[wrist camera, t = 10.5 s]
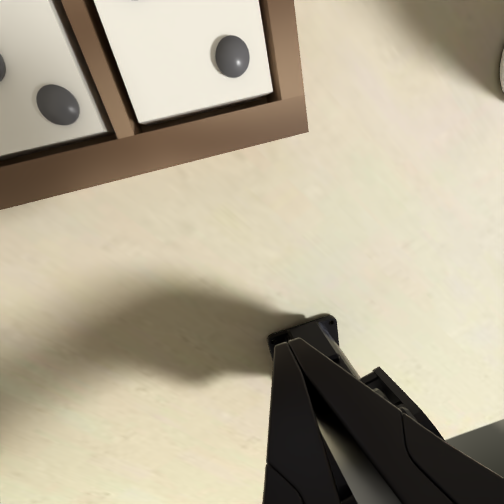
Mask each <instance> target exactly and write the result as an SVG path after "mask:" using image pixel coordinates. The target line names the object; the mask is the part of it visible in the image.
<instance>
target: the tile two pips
mask: <svg viewBox="0 0 504 504" xmlns="http://www.w3.org/2000/svg"><path fill="white" fill-rule="evenodd" d="M94 3H95V5H96V8H97V11H98V13H99V16H100V19H101V21H102V24H103V27H104V30H105V32H106V35H107V38H108V40H109V43H110V46H111V49H112V51H113V54H114V57H115V59H116V62H117V65H118V67H119V70H120V73H121V76H122V78H123V81H124V84H125V86H126V89H127V92H128V95H129V97H130V100H131V103H132V105H133V108H134V111H135V114H136V116H137V119H138V122H139V123H141V124H144V125H147V126H150V125H154V124H159V123H163V122H167V121H171V120H176V119H180V118H184V117H188V116H192V115H197V114H201V113H205V112H209V111H214V110H218V109H222V108H226V107H230V106H235V105H239V104H243V103H247V102H252V101H256V100H260V99H262V98H263V97H265V96H266V95H268V94H270V93H271V92H273V89H272V82H271V76H270V70H269V63H268V57H267V51H266V44H265V38H264V32H263V25H262V19H261V13H260V6H259V0H94Z"/></svg>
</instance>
